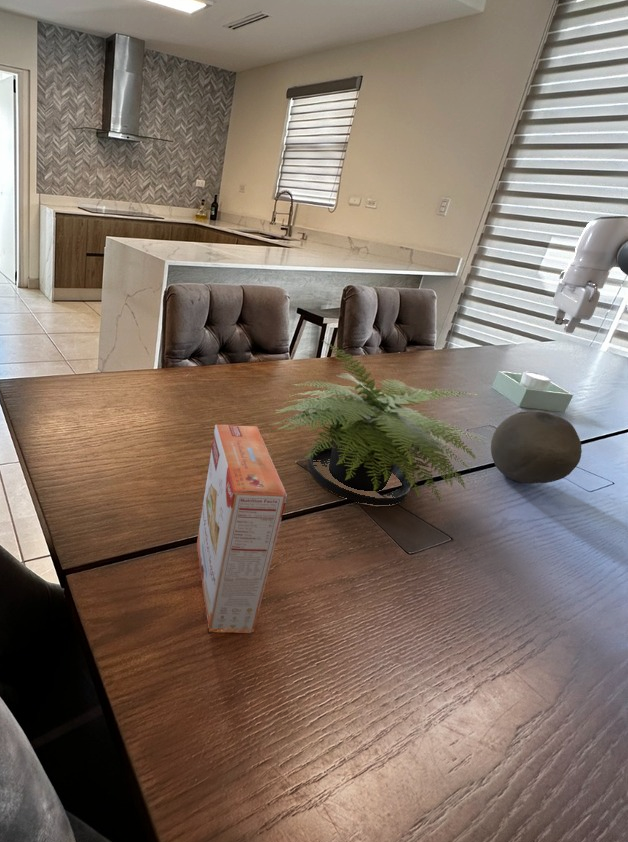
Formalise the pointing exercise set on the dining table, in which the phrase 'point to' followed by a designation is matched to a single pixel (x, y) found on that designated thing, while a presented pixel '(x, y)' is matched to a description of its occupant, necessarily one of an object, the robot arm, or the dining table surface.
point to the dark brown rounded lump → (535, 447)
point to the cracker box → (238, 526)
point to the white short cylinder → (535, 381)
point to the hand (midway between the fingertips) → (562, 328)
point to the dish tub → (531, 393)
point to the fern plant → (375, 436)
